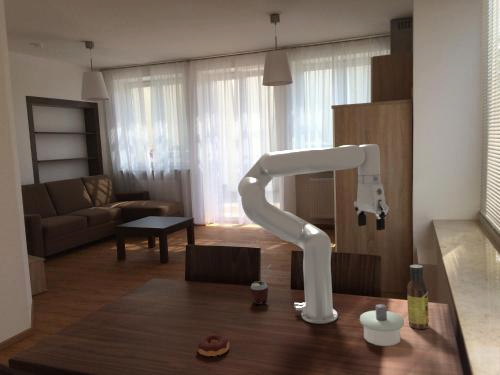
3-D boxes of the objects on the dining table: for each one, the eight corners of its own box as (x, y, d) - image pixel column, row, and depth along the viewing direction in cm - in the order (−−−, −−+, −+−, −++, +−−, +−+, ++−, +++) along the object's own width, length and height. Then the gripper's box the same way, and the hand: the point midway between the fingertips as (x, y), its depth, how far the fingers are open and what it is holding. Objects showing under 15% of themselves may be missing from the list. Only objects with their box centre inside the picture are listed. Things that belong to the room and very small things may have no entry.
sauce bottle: (431, 330, 130) (429, 269, 128) (410, 329, 131) (408, 269, 129) (426, 321, 136) (424, 263, 134) (406, 321, 138) (404, 263, 136)
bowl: (362, 343, 125) (362, 327, 124) (366, 328, 134) (365, 313, 134) (399, 347, 121) (399, 331, 120) (400, 331, 130) (400, 316, 130)
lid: (358, 329, 123) (357, 313, 123) (361, 311, 135) (361, 297, 135) (404, 333, 119) (403, 316, 118) (403, 315, 131) (403, 299, 130)
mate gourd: (248, 304, 161) (245, 267, 160) (258, 297, 168) (255, 262, 166) (264, 307, 157) (261, 269, 156) (274, 300, 164) (271, 264, 162)
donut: (192, 350, 128) (190, 338, 128) (218, 339, 134) (217, 328, 134) (208, 362, 120) (207, 349, 120) (236, 351, 126) (235, 338, 125)
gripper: (395, 179, 137) (397, 230, 139) (362, 177, 153) (363, 222, 155) (377, 182, 134) (379, 233, 136) (345, 179, 150) (347, 225, 152)
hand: (371, 227), depth 145 cm, fingers open, 9 cm apart
